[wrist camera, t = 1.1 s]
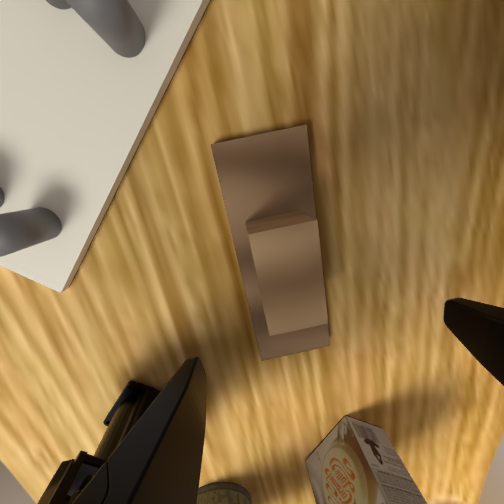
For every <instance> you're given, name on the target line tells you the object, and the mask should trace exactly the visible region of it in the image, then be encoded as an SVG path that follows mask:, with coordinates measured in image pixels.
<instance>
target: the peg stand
mask: <svg viewBox="0 0 504 504" xmlns="http://www.w3.org/2000/svg"><path fill="white" fill-rule="evenodd" d="M209 1H210V0H0V266H2V267H5V268H7V269H9V270H11V271H13V272H16V273H18V274H20V275H22V276H24V277H27V278H29V279H31V280H33V281H35V282H38V283H40V284H42V285H44V286H46V287H49V288H51V289H53V290H55V291H57V292H60V293H62V292H63V291H65V290H66V289H67V288H69V286H70V284H71V282H72V280H73V278H74V276H75V274H76V272H77V270H78V268H79V266H80V264H81V262H82V260H83V258H84V256H85V254H86V252H87V250H88V248H89V246H90V244H91V242H92V240H93V238H94V236H95V234H96V231H97V229H98V227H99V225H100V223H101V221H102V219H103V217H104V215H105V213H106V211H107V209H108V207H109V205H110V203H111V201H112V199H113V197H114V195H115V193H116V191H117V189H118V187H119V185H120V183H121V181H122V179H123V177H124V174H125V172H126V170H127V168H128V166H129V164H130V162H131V160H132V158H133V156H134V154H135V152H136V150H137V148H138V146H139V144H140V142H141V140H142V138H143V136H144V134H145V132H146V130H147V128H148V126H149V124H150V122H151V120H152V117H153V115H154V113H155V111H156V109H157V107H158V105H159V103H160V101H161V99H162V97H163V95H164V93H165V91H166V89H167V87H168V85H169V83H170V81H171V79H172V77H173V75H174V73H175V71H176V69H177V67H178V65H179V62H180V60H181V58H182V56H183V54H184V52H185V50H186V48H187V46H188V44H189V42H190V40H191V38H192V36H193V34H194V32H195V30H196V28H197V26H198V24H199V22H200V20H201V18H202V16H203V14H204V12H205V10H206V8H207V5H208V3H209Z"/></svg>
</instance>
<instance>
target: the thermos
mask: <svg viewBox="0 0 504 504" xmlns="http://www.w3.org/2000/svg"><path fill="white" fill-rule="evenodd" d="M197 504H251V497H250V494H249V493H248V491H247V490H246V489H245V488H243V487H241V486H239V485H236V484H232V483H213V484H208V485H206V486H203V487H201V488H199V489H198V497H197Z"/></svg>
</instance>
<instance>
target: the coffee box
mask: <svg viewBox="0 0 504 504" xmlns="http://www.w3.org/2000/svg"><path fill="white" fill-rule="evenodd" d="M306 466H307V470H308V474H309V478H310V481H311V485H312V489H313V493H314V497H315V501H316V504H427V502H426V501H425V499H424V497H423V496H422V494H421V492H420V491H419V489H418V487H417V486H416V484H415V482H414V481H413V479H412V477H411V476H410V474H409V472H408V471H407V469H406V467H405V465H404V464H403V462H402V460H401V459H400V457H399V456H398V454H397V452H396V450H395V449H394V447H393V445H392V444H391V442H390V440H389V438H388V437H387V435H386V433H385V432H384V430H383V429H382V428H379V427H376V426H374V425H371V424H368V423H365V422H362V421H359V420H357V419H354V418H351V417H348V416H344V417H343V419H342V420H341V421H340V422H339V423H338V424H337V425H336V427H335V428H334V429H333V430H332V431H331V432H330V434H329V435H328V436H327V437H326V438H325V439H324V440H323V442H322V443H321V444H320V445H319V446H318V447H317V448H316V450H315V451H314V452H313V453H312V454H311V455H310V456H309V458H308V459H307V460H306Z"/></svg>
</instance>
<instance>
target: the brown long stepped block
mask: <svg viewBox="0 0 504 504" xmlns="http://www.w3.org/2000/svg"><path fill="white" fill-rule="evenodd" d="M211 148H212V152H213V156H214V160H215V165H216V169H217V173H218V177H219V182H220V186H221V190H222V194H223V199H224V203H225V207H226V211H227V216H228V220H229V224H230V228H231V233H232V237H233V241H234V245H235V250H236V254H237V258H238V262H239V267H240V271H241V275H242V279H243V284H244V288H245V292H246V296H247V301H248V305H249V309H250V313H251V318H252V322H253V326H254V330H255V335H256V339H257V343H258V347H259V352H260V356H261V360H262V361H263V360H267V359H272V358H276V357H281V356H286V355H290V354H295V353H299V352H304V351H308V350H313V349H318V348H322V347H327V346H330V340H329V330H328V315H327V306H326V296H325V287H324V277H323V268H322V258H321V249H320V239H319V230H318V220H317V217H316V208H315V198H314V189H313V180H312V170H311V161H310V151H309V142H308V133H307V124H306V125H301V126H296V127H292V128H287V129H282V130H277V131H272V132H268V133H263V134H258V135H253V136H249V137H244V138H239V139H234V140H229V141H225V142H220V143H215V144H211Z"/></svg>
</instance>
